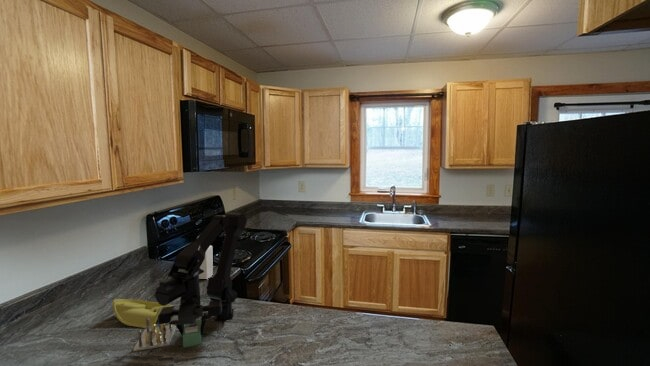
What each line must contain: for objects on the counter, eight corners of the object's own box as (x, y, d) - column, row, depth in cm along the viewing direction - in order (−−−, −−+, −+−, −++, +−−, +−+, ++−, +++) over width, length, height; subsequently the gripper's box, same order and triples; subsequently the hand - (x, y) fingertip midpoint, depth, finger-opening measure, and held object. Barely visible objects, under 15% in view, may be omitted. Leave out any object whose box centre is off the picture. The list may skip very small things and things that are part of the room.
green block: (186, 333, 100) (185, 319, 99) (202, 330, 101) (201, 316, 101) (183, 347, 92) (182, 332, 92) (200, 344, 94) (199, 329, 93)
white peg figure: (207, 280, 142) (204, 236, 140) (195, 279, 143) (192, 236, 141) (214, 275, 148) (212, 232, 146) (202, 274, 149) (200, 232, 147)
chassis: (145, 331, 101) (143, 316, 101) (176, 326, 104) (175, 312, 103) (133, 351, 91) (131, 335, 90) (168, 345, 93) (167, 329, 93)
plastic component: (175, 305, 114) (158, 306, 105) (169, 326, 112) (152, 329, 102) (130, 298, 117) (110, 299, 108) (123, 318, 115) (102, 321, 105)
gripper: (150, 307, 85) (154, 357, 86) (218, 297, 90) (220, 345, 91) (161, 290, 96) (164, 335, 97) (221, 282, 100) (223, 325, 102)
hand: (193, 335), depth 96 cm, fingers closed on green block, 5 cm apart
